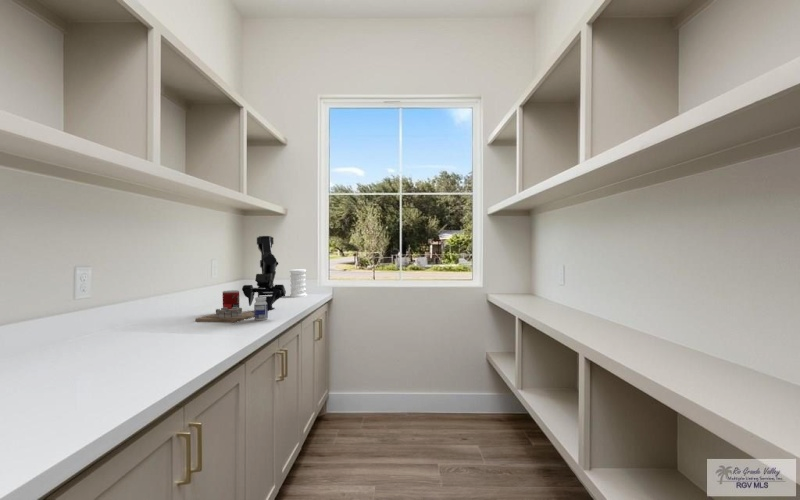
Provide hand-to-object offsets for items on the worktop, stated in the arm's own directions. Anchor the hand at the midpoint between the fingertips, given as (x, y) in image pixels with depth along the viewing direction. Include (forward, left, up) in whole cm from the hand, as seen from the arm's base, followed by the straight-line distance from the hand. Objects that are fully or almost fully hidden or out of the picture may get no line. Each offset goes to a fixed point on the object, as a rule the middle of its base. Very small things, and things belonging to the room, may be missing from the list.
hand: (259, 305), depth 188 cm
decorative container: (-94, -28, -7) cm, 99 cm away
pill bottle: (-1, 0, -7) cm, 7 cm away
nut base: (-2, -17, -7) cm, 19 cm away
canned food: (-18, -27, -7) cm, 34 cm away
